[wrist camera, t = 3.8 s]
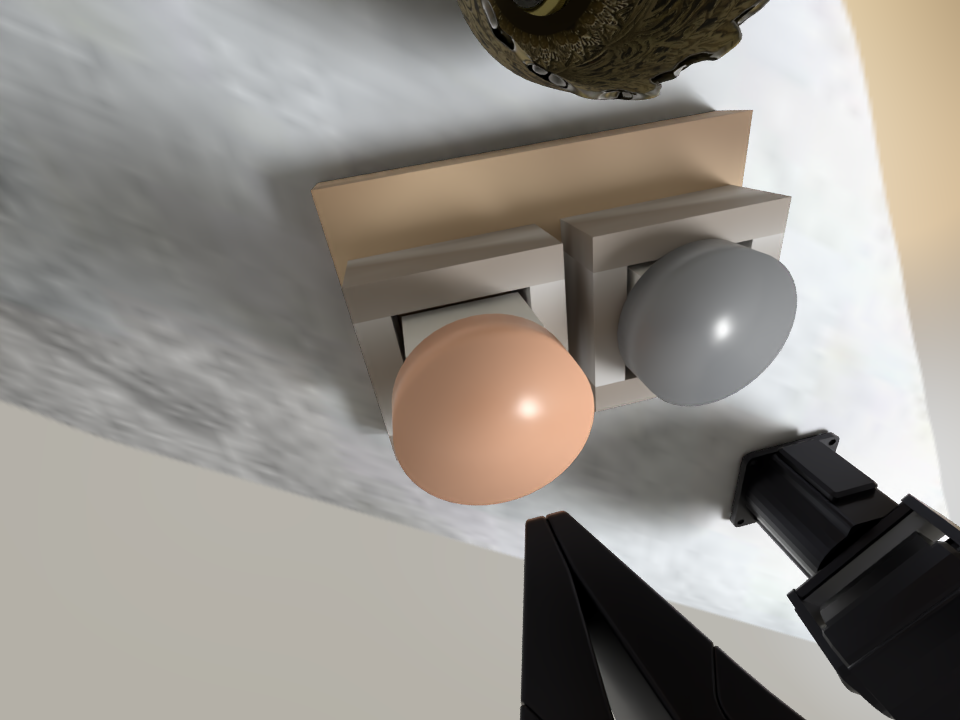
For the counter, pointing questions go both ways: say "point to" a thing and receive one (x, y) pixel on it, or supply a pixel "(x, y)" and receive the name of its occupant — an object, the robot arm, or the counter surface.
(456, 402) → the plunger terracotta
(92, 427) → the counter surface
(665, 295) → the plunger grey
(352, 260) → the button board
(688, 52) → the cup
